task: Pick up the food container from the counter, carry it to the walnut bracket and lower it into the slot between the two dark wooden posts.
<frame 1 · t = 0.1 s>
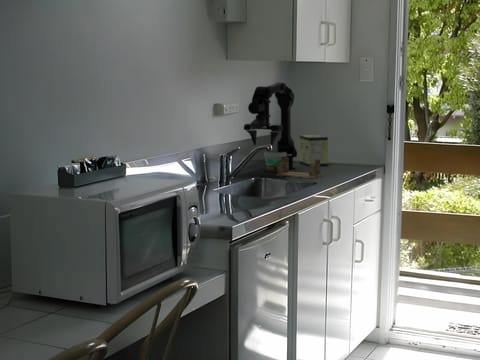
hand: (263, 145, 351), 15 cm above the counter, tool pointing down, fingers open, 9 cm apart
food container: (273, 172, 365), on the counter
protein box: (313, 165, 393), on the counter
bracket: (298, 175, 351), on the counter
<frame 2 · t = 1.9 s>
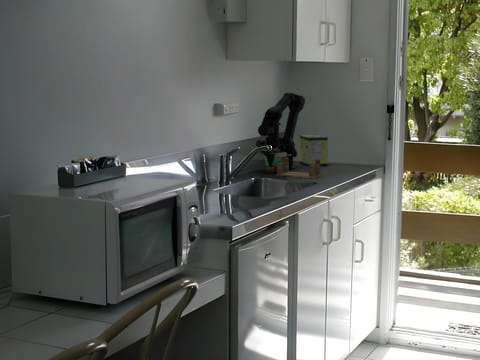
hand: (273, 165, 365), 3 cm above the counter, tool pointing down, fingers open, 6 cm apart
food container: (273, 172, 365), on the counter, touching gripper
everything else where it was.
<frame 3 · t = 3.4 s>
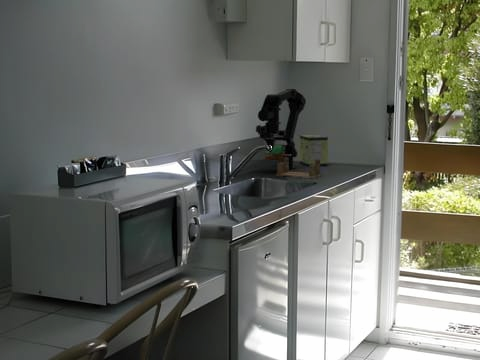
hand: (273, 151, 364), 10 cm above the counter, tool pointing down, fingers closed on food container, 6 cm apart
food container: (271, 160, 363), point 6 cm above the counter, touching gripper
everything else where it was.
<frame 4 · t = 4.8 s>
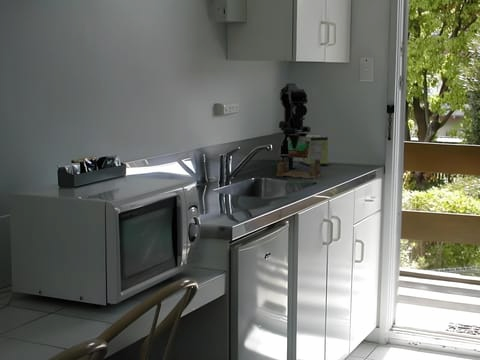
hand: (296, 148, 350), 13 cm above the counter, tool pointing down, fingers closed on food container, 6 cm apart
food container: (295, 157, 350), point 9 cm above the counter, touching gripper
everything else where it was.
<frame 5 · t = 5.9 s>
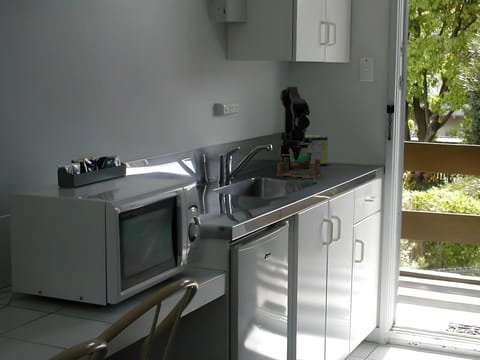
hand: (298, 159, 350), 8 cm above the counter, tool pointing down, fingers closed on food container, 6 cm apart
food container: (297, 169, 350), point 3 cm above the counter, touching gripper
everything else where it was.
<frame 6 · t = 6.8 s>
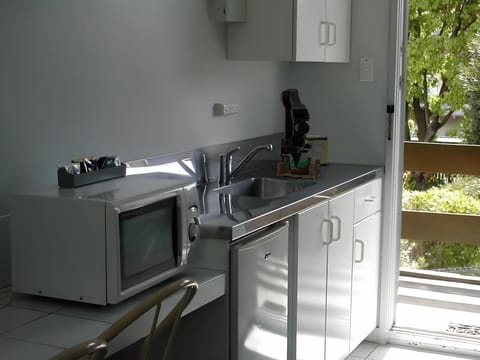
hand: (298, 165, 350), 5 cm above the counter, tool pointing down, fingers closed on food container, 5 cm apart
food container: (297, 173, 350), point 1 cm above the counter, touching bracket, gripper
everything else where it was.
when the fingers open (5 cm above the counter, at t = 6.9 s): food container stays where it is, resting on bracket.
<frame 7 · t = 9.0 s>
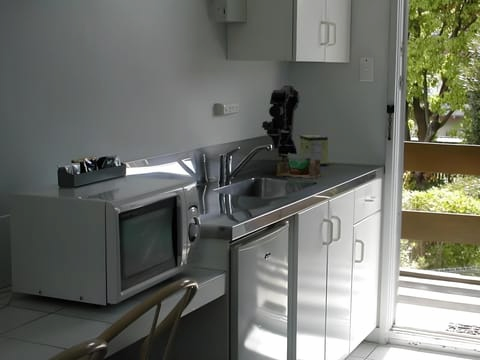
hand: (279, 147, 360), 13 cm above the counter, tool pointing down, fingers open, 9 cm apart
food container: (297, 174, 350), point 1 cm above the counter, touching bracket
everything else where it was.
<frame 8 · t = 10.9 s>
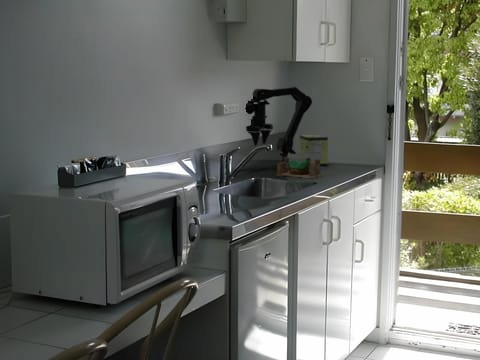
hand: (259, 144, 370), 13 cm above the counter, tool pointing down, fingers open, 9 cm apart
nothing on the counter moved.
at the end: food container inside the target area on the bracket (1.3 cm from its centre), point 0.8 cm above the bracket's base; food container tilted 0°; the gripper is holding nothing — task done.
